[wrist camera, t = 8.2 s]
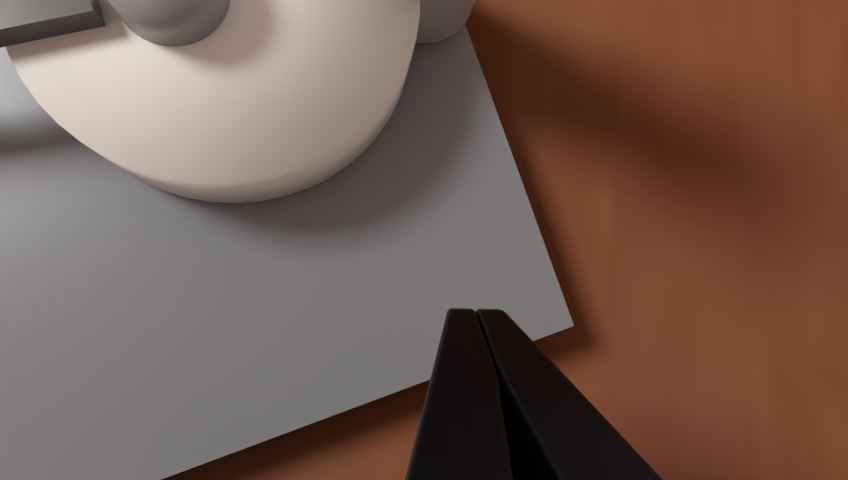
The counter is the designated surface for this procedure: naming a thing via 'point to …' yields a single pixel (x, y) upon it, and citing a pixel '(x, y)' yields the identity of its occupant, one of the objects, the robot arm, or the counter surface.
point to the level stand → (248, 283)
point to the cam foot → (223, 83)
